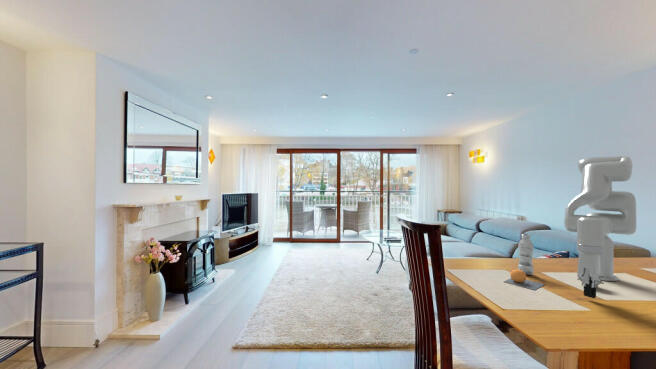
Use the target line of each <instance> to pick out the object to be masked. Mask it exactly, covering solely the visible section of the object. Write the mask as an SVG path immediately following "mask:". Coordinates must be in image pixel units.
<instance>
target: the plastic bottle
mask: <svg viewBox="0 0 656 369" xmlns="http://www.w3.org/2000/svg"><path fill="white" fill-rule="evenodd" d="M520 238H521V239H520V240H519V241H518V243H517V244H518V245H517V247H518V254H519V255H518V256H519V257H518V264H517V269H519V270H522V271H523V272H524V273H525V274H526V276H531V275H533V274H534V272H535V271H534V265H533V254H534V253H533V252H534V248H535V247H534V244H533V242H532V241H531V234H529V233H521V236H520Z"/></svg>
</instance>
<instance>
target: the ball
mask: <svg viewBox="0 0 656 369" xmlns="http://www.w3.org/2000/svg"><path fill="white" fill-rule="evenodd" d="M509 277H510V279H511V278H512V280H513V281H515V282H517V283H522V282H524V281H525V280H527V275H526V274H525V273H524V272H523V271H522V270H519V269H518V268H516V269H512V270H511V271H510V276H509Z"/></svg>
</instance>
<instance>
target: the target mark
mask: <svg viewBox="0 0 656 369" xmlns="http://www.w3.org/2000/svg"><path fill="white" fill-rule="evenodd" d="M505 282H507V283H506V284H509V283H510V284H511V285H513V284H514V285H513V286H518V287H521V288H525V289H528V290H532V291H537V290H538V289H540V288H542V287H544V286H545V285H546V284H545V283H543V282H542V283H541V282H536V281H534V280H529V279H526V280H525V281H524V282H522V283H517V282H515V281H513V280H512V278H511V277H510V278H509V279H506V280H504V281H503V283H505Z"/></svg>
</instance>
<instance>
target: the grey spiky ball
mask: <svg viewBox="0 0 656 369" xmlns="http://www.w3.org/2000/svg"><path fill="white" fill-rule="evenodd" d="M601 277H603V276H600V277H599V278H598V279H596V288H599V285H601V284H602V285H604V284H605V283H604V282H602V281H603V280H601ZM577 280H578V281H579V280H580V281H581V285H582V286H584V276H583V277H581V278H578V277H577Z"/></svg>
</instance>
